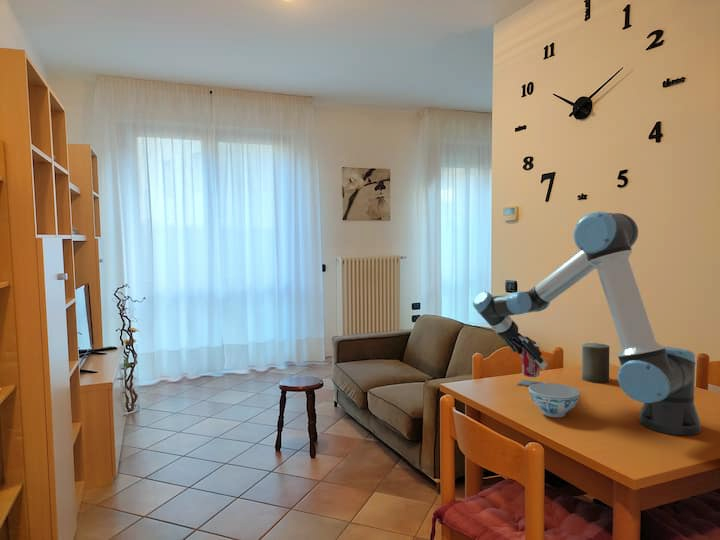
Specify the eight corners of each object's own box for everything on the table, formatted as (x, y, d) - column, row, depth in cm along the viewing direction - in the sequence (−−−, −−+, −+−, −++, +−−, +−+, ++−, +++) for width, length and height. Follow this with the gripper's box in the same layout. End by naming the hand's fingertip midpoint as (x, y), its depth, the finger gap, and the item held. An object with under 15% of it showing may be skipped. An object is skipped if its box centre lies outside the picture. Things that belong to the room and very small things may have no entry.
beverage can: (543, 377, 182) (543, 345, 181) (529, 378, 179) (530, 347, 179) (531, 373, 187) (531, 342, 187) (518, 374, 185) (518, 343, 185)
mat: (538, 388, 178) (538, 386, 178) (517, 384, 183) (517, 383, 183) (544, 384, 184) (544, 382, 184) (524, 380, 188) (524, 379, 188)
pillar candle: (611, 383, 183) (612, 344, 183) (583, 381, 186) (583, 343, 186) (606, 377, 192) (607, 340, 192) (580, 375, 195) (580, 338, 195)
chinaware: (590, 416, 149) (590, 392, 149) (558, 425, 142) (558, 400, 141) (550, 403, 162) (550, 380, 162) (518, 410, 155) (518, 387, 154)
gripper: (482, 329, 186) (515, 366, 193) (515, 338, 168) (551, 378, 175) (493, 314, 187) (526, 352, 194) (528, 321, 170) (562, 363, 177)
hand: (538, 364), depth 185 cm, fingers closed on beverage can, 6 cm apart
